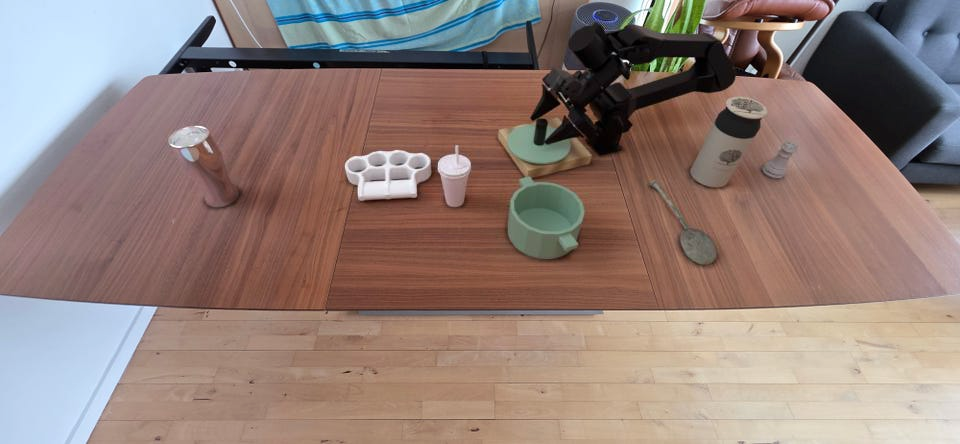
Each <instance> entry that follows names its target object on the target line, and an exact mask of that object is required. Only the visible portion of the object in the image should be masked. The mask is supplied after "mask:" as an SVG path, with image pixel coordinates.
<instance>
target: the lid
mask: <svg viewBox="0 0 960 444" xmlns="http://www.w3.org/2000/svg"><path fill="white" fill-rule="evenodd" d="M547 120H548V119H546V118H542V117H540V118H538V119H536V120H535V122H536V124H531V125H524V124H523V125H524V126H521V127H518V128H516V129H514V130H513V131H512V132H511V133H510V134H509V136H508V139H507V145H508V148H509V150H510V151H511V152H512V154H514V155H515V156H516V157H518V158H519V159H521V160H524V161H526V162H530V163H535V164H551V163H555V162H558V161H561V160H562V159H564V158H565V157H566V156H567V155H568V154H569V152H570V149H571V144H570V141H569V139H566V140H563V141H559V142H556V143H552V144H549V145H547V144H545V142H544V141H545V140H546V139H547V138H548V137H549V136H550V135H551V134H552V133H553V132H554V131H555V130H556V129H555V128H553V127H550V126H548V121H547Z"/></svg>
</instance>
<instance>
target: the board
mask: <svg viewBox="0 0 960 444" xmlns="http://www.w3.org/2000/svg"><path fill="white" fill-rule="evenodd" d="M546 120H547V121H548V126H550V127H553V128H555V129H557V128H558V127H559V126H560V125H561V124H562V121H561V119H560V118H559V117H553V118H549V119H546ZM531 124H536V121H533V122H530V123H524V124H520V125H515V126H510V127H505V128H500V129H498V134H497V139H498V141H499V142H500V143H501V145H502V146H503V148H504V149H505V150H506V152H507V153H508V155H509V156H510V158H511V160H512V161H513V162H514V163H515V165H516V166H517V168H518V169H519V170H520V172H521V173H522V175H523V176H524V178H525V177H529V176H530V177H531V179H534V178H538V177H542V176H546V175H551V174H554V173H559V172H562V171H566V170H570V169H575V168H579V167H583V166H587V165H590V163H591V160H592V158H593V157H592V156H593V155H592V154H591V152H590V151H589V150H588V149H587V148H586V147H585V146H584V145H583V144H582V143H581V141H580V140H579V139H578V137H575V138H570V139H569V141H570V144H571V149H570V152H569V154H568V155H567V156H566V157H565V158H564V159H562V160H561V161H558V162H555V163H551V164H535V163H530V162H526V161H524V160H521V159H519V158H518V157H516V156H515V155H514V154H512V152H511V151H510V150H509V148H508V145H507V139H508V136H509V134H510V133H511V132H512V131H513V130H514V129H516V128H518V127H521V126H524V125H531Z"/></svg>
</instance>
